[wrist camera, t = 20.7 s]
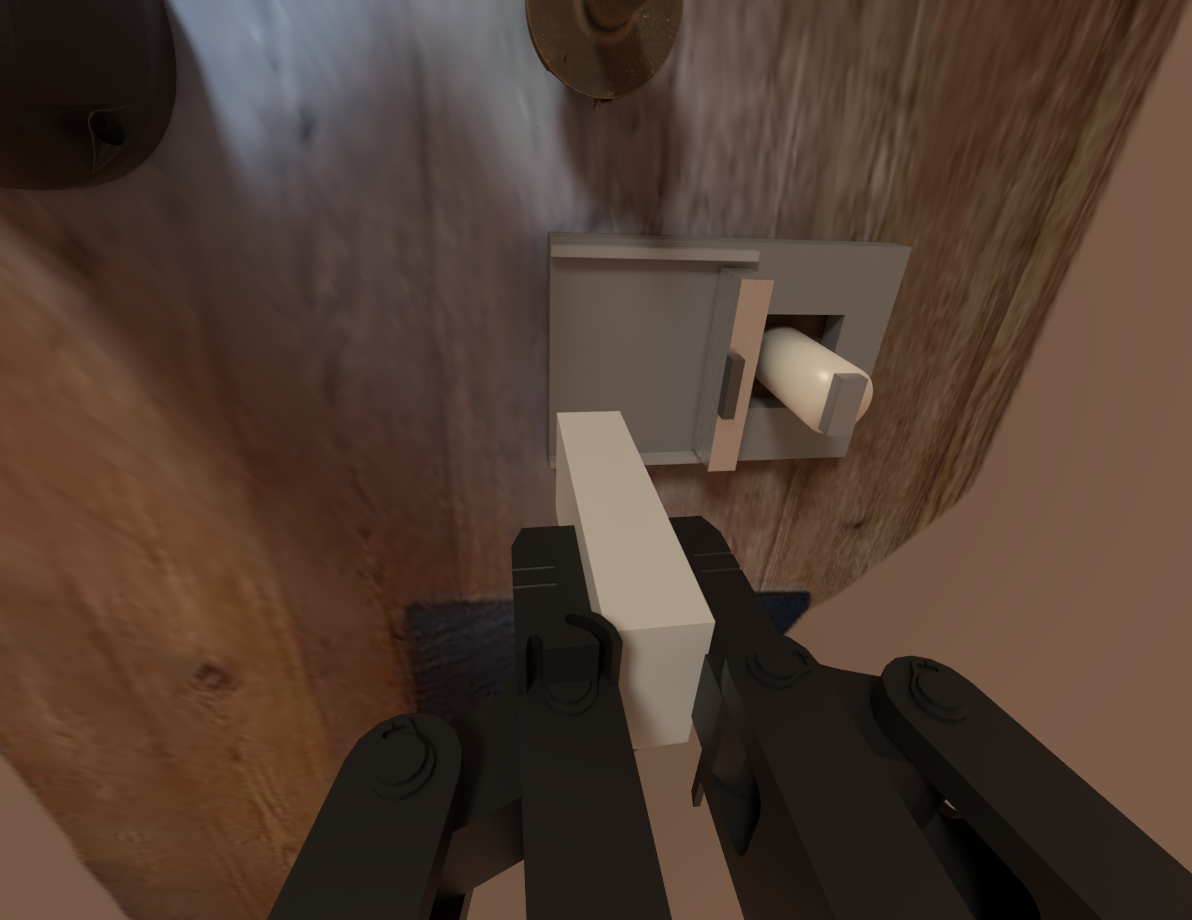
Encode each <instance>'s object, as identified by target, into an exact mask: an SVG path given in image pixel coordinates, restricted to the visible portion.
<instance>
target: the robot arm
mask: <svg viewBox="0 0 1192 920" xmlns="http://www.w3.org/2000/svg"><path fill="white" fill-rule="evenodd" d="M175 91H176V61H175V52H174V46H173V40H172V35H171V31H170V27H169V23H168V19H167V16H166V12H165V9H164V6H163V3H162V1H161V0H0V186H1V187H8V188H15V189H23V190H61V189H72V188H82V187H89V186H95V185H99V184H103V183H107V182H109V181H112V180H115V179H117V178H119V177H122V176H124V175H125V174H127V173H129V172H130V171H132V170H134V169H135V168H136V167H138V166H139V165H140V164H141V163H142V162H143V161H144V160H146V159H147V158H148V157H149V155H150V154H151V153H152V152H153V151H154V149H155V148H156V147H157V145H158V144H159V142H160V140H161V139H162V137H163V135H164V133H165V131H166V128H167V126H168V123H169V120H170V117H171V114H172V110H173V105H174V100H175ZM556 512H557V519H558V525H559V526H551V527H534V528H522V529H521V531H520V533H519V534H518V536H517V538H516V540H515V541H514V543H513V545H512V572H513V598H514V624H515V649H516V652H515V653H516V659H515V668H514V671H513V673H512V676H511V678H510V681H509V682H508V684H507V685H506V686H505V688H504V689H503V690H502V692H501V693H500V694H499V695H498V696H496V697H495V698H494V699H493V700H492V701H491V702H489V703H488V704H486V705H484V706H483V707H481V708H479V709H477V710H475V711H473V712H471V713H469V714H466V715H464V716H462V717H459V718H457V719H455V720H452V721H450V722H448V723H446V722H445V721H444V720H443V719H442V718H439V717H436V716H432V715H429V714H426V713H411V714H401V715H398V716H396V717H393V718H391V719H388V720H386V721H383V722H381V723H379V724H378V725H376V726H375V727H374V728H373V729H371V730H370V731H369V732H368V733H366V734H365V735H364V736H363V737H361V738H360V739H359V740H358V742H357V743H356V745H355V746H354V747H353V749H352V750H351V752H350V753H349V755H348V756H347V757H346V759H345V761H344V763H343V765H342V767H341V769H340V771H339V773H338V775H337V777H336V779H335V781H334V783H333V785H332V787H331V789H330V791H329V793H328V795H327V798H326V800H325V802H324V804H323V806H322V808H321V810H320V812H319V814H318V816H317V818H316V820H315V822H314V824H313V826H312V828H311V830H310V832H309V834H308V837H307V839H306V841H305V843H304V845H303V847H302V849H301V851H300V853H299V855H298V857H297V859H296V861H295V863H294V865H293V867H292V869H291V871H290V873H289V875H288V878H287V880H286V882H285V884H284V886H283V888H282V890H281V892H280V894H279V896H278V898H277V900H276V902H275V904H274V906H273V908H272V910H271V912H270V914H269V917H268V919H267V920H466V919H467V915H468V910H469V906H470V902H471V897H472V893H473V889H474V888H475V887H477V886H479V885H480V884H482V883H484V882H485V881H487V880H489V879H491V878H492V877H494V876H496V875H498V874H499V873H501V872H503V871H505V870H506V869H508V868H510V867H511V866H513V865H515V864H517V863H518V862H520V861H522V860H524V869H525V894H526V917H527V920H672V918H671V914H670V909H669V905H668V900H667V896H666V892H665V887H664V883H663V878H662V875H661V869H660V865H659V861H658V856H657V852H656V847H655V844H654V839H653V834H652V830H651V826H650V821H649V817H648V812H647V808H646V804H645V799H644V795H643V791H642V786H641V782H640V777H639V773H638V768H637V764H636V760H635V755H634V751H633V749H638V748H645V747H653V746H661V745H668V744H676V743H684V742H688V739H689V735H690V730H691V726H692V722H693V724H694V727H695V729H696V732H697V735H698V738H699V741H700V744H701V747H702V752H701V756H700V760H699V763H698V767H697V771H696V775H695V779H694V783H693V787H692V791H691V792H692V800H693V807H696V806H700V804H701V800H702V797H703V793H705V796H706V799H707V803H708V806H709V809H710V812H711V815H712V818H713V822H714V825H715V828H716V831H717V834H718V837H719V841H720V844H721V847H722V850H723V853H724V856H725V860H726V863H727V866H728V869H729V872H730V875H731V879H732V881H733V885H734V888H735V891H736V894H737V898H738V900H739V904H740V907H741V910H742V913H743V916H744V920H1192V873H1190V872H1189V871H1188V870H1187V869H1185V868H1184V867H1183V866H1182V865H1181V864H1180V863H1179V862H1178V861H1177V860H1175V859H1174V858H1173V857H1172V856H1171V855H1170V854H1168V853H1167V852H1166V851H1165V850H1164V849H1163V848H1162V847H1160V846H1159V845H1158V844H1157V843H1156V842H1155V841H1153V840H1152V839H1151V838H1150V837H1149V836H1148V835H1147V834H1145V833H1144V832H1143V831H1142V830H1141V829H1140V828H1139V827H1137V826H1136V825H1135V824H1134V823H1133V822H1132V821H1130V820H1129V819H1128V818H1127V817H1126V816H1125V815H1124V814H1122V813H1121V812H1120V811H1119V810H1118V809H1117V808H1115V807H1114V806H1113V805H1112V804H1111V803H1110V802H1109V801H1107V800H1106V799H1105V798H1104V797H1103V796H1101V795H1100V794H1099V793H1098V792H1097V791H1096V790H1095V789H1093V788H1092V787H1091V786H1090V785H1089V784H1088V783H1087V782H1086V781H1084V780H1083V779H1082V778H1081V777H1080V776H1078V775H1077V774H1076V773H1075V772H1074V771H1073V770H1072V769H1071V768H1069V767H1068V766H1067V765H1066V764H1065V763H1064V762H1062V761H1061V760H1060V759H1059V758H1058V757H1057V756H1056V755H1054V754H1053V753H1052V752H1051V751H1050V750H1049V749H1047V748H1046V747H1045V746H1044V745H1043V744H1042V743H1041V742H1039V741H1038V740H1037V739H1036V738H1035V737H1034V736H1032V735H1031V734H1030V733H1029V732H1028V731H1027V730H1026V729H1024V728H1023V727H1022V726H1021V725H1020V724H1019V723H1017V722H1016V721H1015V720H1014V719H1013V718H1012V717H1011V716H1009V715H1008V714H1007V713H1006V712H1005V711H1004V710H1002V709H1001V708H1000V707H999V706H998V705H997V704H996V703H994V702H993V701H992V700H991V699H990V698H989V697H987V696H986V695H985V694H984V693H983V692H982V691H980V690H979V689H978V688H977V687H976V686H975V685H974V684H973V683H971V682H970V681H969V680H967V679H966V678H965V677H963V676H962V675H960V674H959V673H957V672H956V671H954V670H953V669H952V668H950V667H948V666H945V665H943V664H941V663H938V662H936V661H934V660H931V659H927V658H922V657H916V656H905V657H899V658H895V659H894V660H893V661H891V662H890V663H889V664H887V665H886V666H885V668H884V670H883V672H882V674H881V676H874V675H869V674H863V673H858V672H852V671H847V670H841V669H836V668H832V667H829V666H825V665H821V664H819V663H818V662H817V661H816V660H815V658H814V657H813V656H812V655H811V654H810V653H809V651H808V650H807V649H806V648H805V647H803V646H801V645H800V644H799V643H797V642H796V641H794V640H793V639H791V638H790V637H787V636H784V635H781V634H779V633H778V632H777V630H776V629H775V627H774V625H773V624H772V622H771V620H770V618H769V617H768V615H767V613H766V611H765V610H764V608H763V606H762V604H761V603H760V601H759V599H758V597H757V596H756V594H755V592H754V590H753V589H752V587H751V585H750V583H749V582H748V580H747V578H746V576H745V575H744V573H743V571H742V570H740V566H739V564H738V562H737V560H736V559H735V557H734V555H733V554H731V550H730V548H729V546H728V545H727V543H726V541H725V539H724V538H723V536H722V534H721V532H720V531H719V530H718V529H716V528H715V527H714V526H713V525H711V524H710V523H709V522H708V521H706V520H705V519H704V518H703V517H702V516H691V517H674V518H668V517H667V514H666V512H665V510H664V508H663V506H662V503H661V501H660V499H659V497H658V495H657V492H656V490H655V488H654V486H653V484H652V481H651V479H650V477H649V475H648V472H647V470H646V468H645V466H644V464H643V461H642V459H641V457H640V455H639V453H638V450H637V448H636V446H635V444H634V442H633V439H632V437H631V435H630V433H629V431H628V428H627V426H626V424H625V422H624V420H623V417H622V415H621V413H620V411H605V412H566V413H557V448H556ZM945 800H948V802H949V803H950V804H951V805H952V806H953V807H954V808H955V809H956V810H957V811H956V810H955V809H953V808H951V807H950V806H949V805H947V804H946V803H945V802H944V801H945Z"/></svg>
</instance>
